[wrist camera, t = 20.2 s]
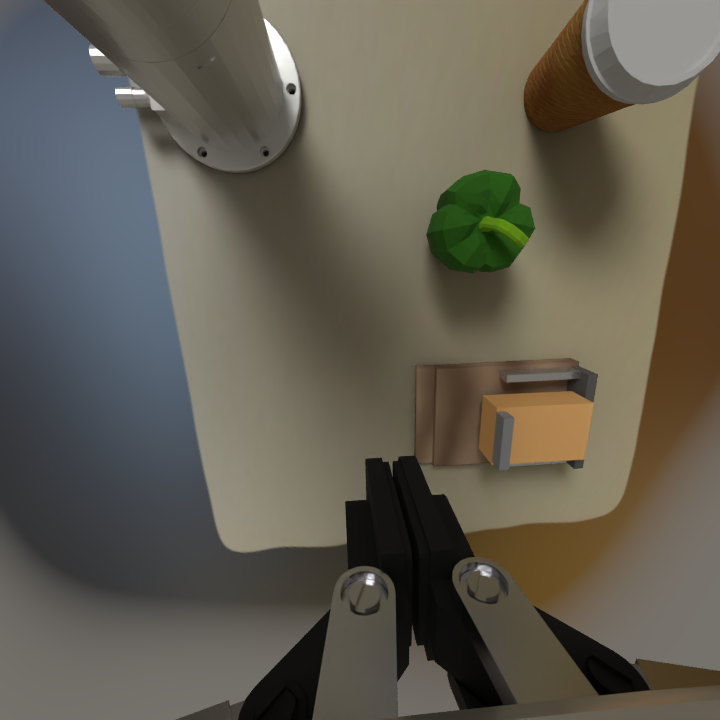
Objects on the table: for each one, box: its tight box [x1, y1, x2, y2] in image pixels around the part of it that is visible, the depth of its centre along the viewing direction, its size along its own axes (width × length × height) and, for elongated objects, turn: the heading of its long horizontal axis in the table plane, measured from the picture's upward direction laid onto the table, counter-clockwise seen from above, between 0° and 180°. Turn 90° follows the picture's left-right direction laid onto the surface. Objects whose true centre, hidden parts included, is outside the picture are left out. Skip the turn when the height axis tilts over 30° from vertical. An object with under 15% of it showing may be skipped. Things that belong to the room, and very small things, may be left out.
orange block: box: [479, 391, 594, 471], centre depth 37 cm, size 10×6×6 cm, turn 91°
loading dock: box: [415, 358, 598, 469], centre depth 39 cm, size 18×12×4 cm, turn 92°
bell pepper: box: [427, 170, 535, 273], centre depth 31 cm, size 8×8×10 cm
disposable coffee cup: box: [524, 0, 720, 132], centre depth 27 cm, size 10×10×12 cm
